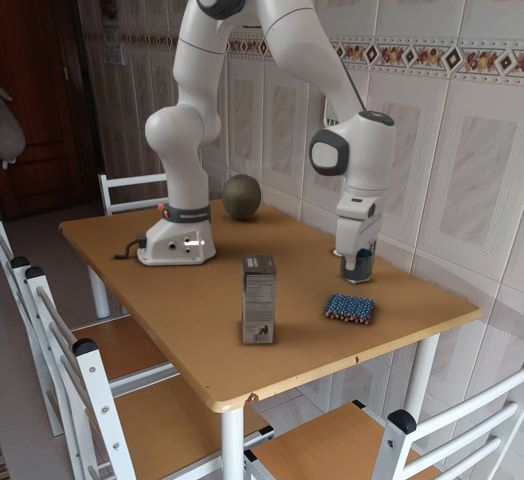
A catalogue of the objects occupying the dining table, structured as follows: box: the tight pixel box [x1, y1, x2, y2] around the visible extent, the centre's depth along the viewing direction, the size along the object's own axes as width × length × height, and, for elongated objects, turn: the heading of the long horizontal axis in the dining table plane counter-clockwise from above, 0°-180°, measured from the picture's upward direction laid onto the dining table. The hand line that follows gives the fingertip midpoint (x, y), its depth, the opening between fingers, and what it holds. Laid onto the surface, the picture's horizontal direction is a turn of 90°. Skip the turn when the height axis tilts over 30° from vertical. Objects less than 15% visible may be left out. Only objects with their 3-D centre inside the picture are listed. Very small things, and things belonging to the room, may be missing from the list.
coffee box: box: [241, 253, 278, 345], centre depth 101 cm, size 9×6×16 cm
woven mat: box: [323, 293, 376, 325], centre depth 114 cm, size 10×11×2 cm
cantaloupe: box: [221, 173, 262, 220], centre depth 169 cm, size 14×14×15 cm
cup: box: [339, 248, 375, 281], centre depth 109 cm, size 7×7×5 cm
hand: (356, 262), depth 108 cm, fingers closed on cup, 7 cm apart
